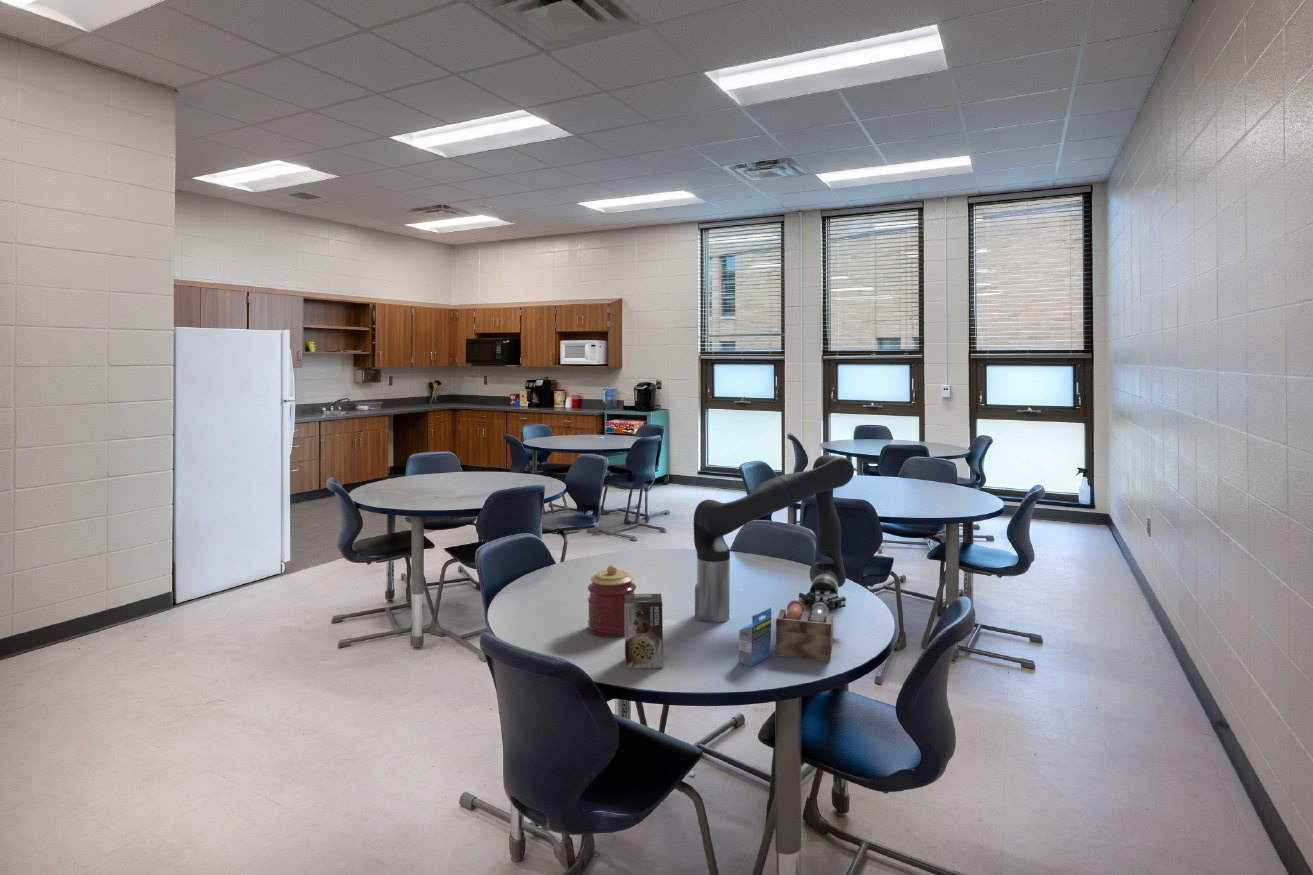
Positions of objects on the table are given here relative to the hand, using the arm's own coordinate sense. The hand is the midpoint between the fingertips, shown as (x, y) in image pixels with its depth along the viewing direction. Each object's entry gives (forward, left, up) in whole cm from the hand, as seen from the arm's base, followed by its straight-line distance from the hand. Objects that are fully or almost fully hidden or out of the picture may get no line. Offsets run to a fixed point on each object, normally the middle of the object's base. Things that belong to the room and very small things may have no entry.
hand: (819, 610), depth 185 cm
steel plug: (0, -5, -2) cm, 5 cm away
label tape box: (-14, -17, -8) cm, 23 cm away
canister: (-54, -8, -8) cm, 55 cm away
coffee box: (-39, -27, -8) cm, 48 cm away
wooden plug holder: (-3, -8, -8) cm, 12 cm away
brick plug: (-6, -5, -2) cm, 8 cm away
